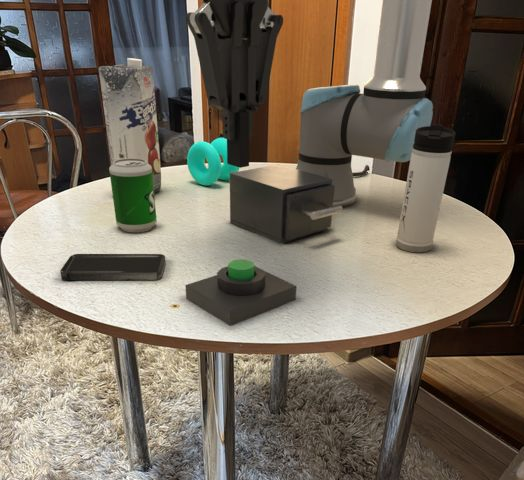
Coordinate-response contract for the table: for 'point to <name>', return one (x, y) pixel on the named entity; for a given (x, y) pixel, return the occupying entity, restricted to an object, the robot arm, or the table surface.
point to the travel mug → (424, 187)
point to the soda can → (133, 194)
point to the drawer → (309, 211)
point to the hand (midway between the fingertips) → (238, 164)
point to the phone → (114, 267)
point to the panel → (240, 295)
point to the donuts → (209, 162)
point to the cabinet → (267, 198)
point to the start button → (241, 269)
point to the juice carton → (131, 114)
